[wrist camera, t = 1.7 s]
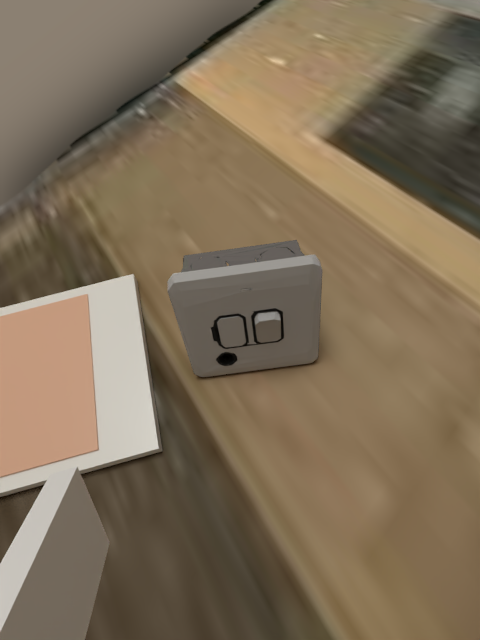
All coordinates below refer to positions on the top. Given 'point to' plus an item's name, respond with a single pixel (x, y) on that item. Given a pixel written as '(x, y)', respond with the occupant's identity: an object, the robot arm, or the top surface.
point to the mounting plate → (74, 384)
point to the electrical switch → (248, 308)
